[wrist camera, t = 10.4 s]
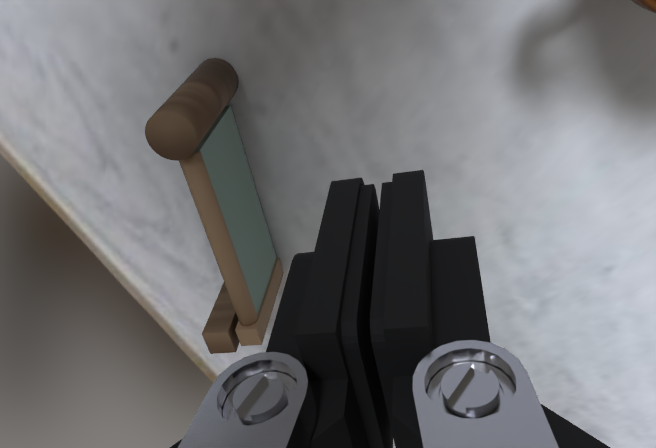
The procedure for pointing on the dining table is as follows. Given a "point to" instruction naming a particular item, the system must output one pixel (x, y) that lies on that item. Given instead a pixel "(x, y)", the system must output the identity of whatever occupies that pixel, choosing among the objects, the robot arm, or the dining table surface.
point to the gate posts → (180, 142)
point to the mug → (647, 4)
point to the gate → (235, 225)
